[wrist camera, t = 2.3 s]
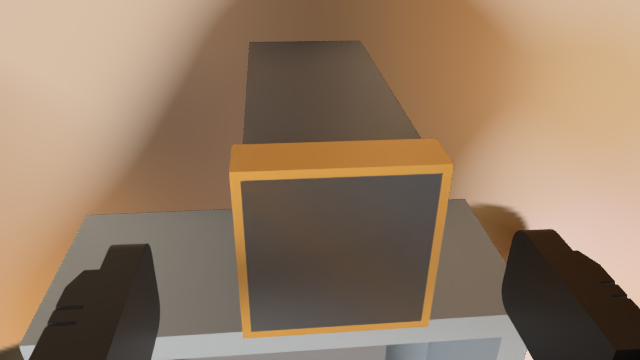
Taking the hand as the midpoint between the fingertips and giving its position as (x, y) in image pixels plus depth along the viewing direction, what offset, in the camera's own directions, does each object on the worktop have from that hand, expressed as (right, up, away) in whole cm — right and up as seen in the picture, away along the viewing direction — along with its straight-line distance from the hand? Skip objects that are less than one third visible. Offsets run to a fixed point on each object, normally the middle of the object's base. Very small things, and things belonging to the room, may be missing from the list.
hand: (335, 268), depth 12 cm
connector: (-1, +5, +8) cm, 10 cm away
